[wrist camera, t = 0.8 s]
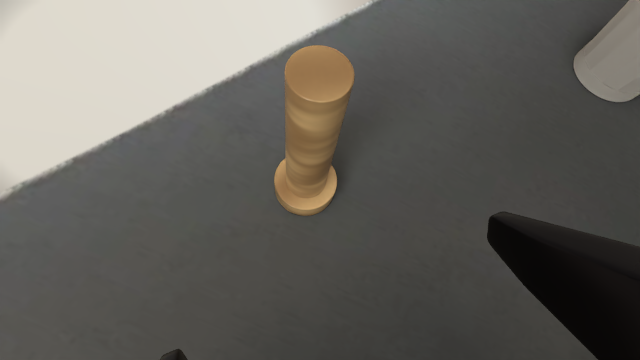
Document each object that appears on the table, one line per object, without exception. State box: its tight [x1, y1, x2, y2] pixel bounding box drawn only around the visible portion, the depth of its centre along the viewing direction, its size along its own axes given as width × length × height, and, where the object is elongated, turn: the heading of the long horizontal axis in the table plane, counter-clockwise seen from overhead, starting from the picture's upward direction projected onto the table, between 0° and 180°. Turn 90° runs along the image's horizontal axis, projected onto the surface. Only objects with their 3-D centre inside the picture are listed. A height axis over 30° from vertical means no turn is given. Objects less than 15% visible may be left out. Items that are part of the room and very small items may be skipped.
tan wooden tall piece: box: [274, 45, 355, 216], centre depth 20 cm, size 4×4×13 cm
